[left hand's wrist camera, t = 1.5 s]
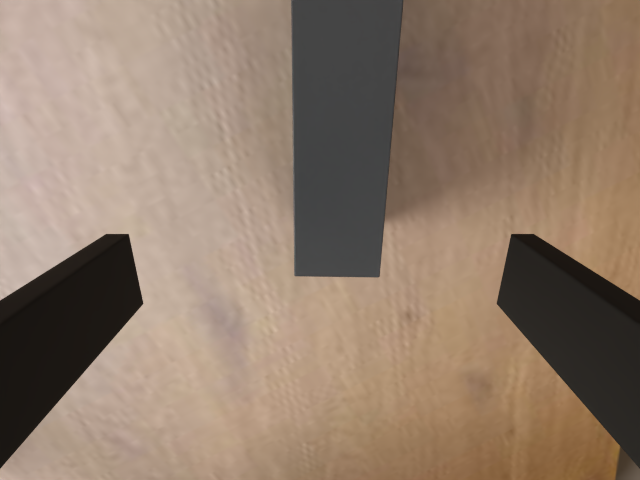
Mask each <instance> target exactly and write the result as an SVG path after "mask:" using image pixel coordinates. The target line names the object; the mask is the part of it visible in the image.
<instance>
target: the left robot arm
mask: <svg viewBox="0 0 640 480" xmlns="http://www.w3.org/2000/svg"><path fill="white" fill-rule="evenodd" d="M142 305H143V300H142V295H141V291H140V286H139V281H138V276H137V272H136V267H135V262H134V257H133V253H132V248H131V243H130V238H129V234H106V235H104V236H103V237H101V238H99V239H98V240H96V241H95V242H93V243H91V244H90V245H88V246H87V247H85V248H83V249H82V250H80V251H79V252H77V253H75V254H74V255H72V256H71V257H69V258H67V259H66V260H64V261H63V262H61V263H59V264H58V265H56V266H55V267H53V268H52V269H50V270H48V271H47V272H45V273H44V274H42V275H40V276H39V277H37V278H36V279H34V280H32V281H31V282H29V283H28V284H26V285H24V286H23V287H21V288H20V289H18V290H16V291H15V292H13V293H12V294H10V295H8V296H7V297H5V298H4V299H2V300H1V301H0V468H1V467H2V466H3V465H4V464H5V462H6V461H7V460H8V459H9V458H10V457H11V455H12V454H13V453H14V452H15V451H16V450H17V449H18V447H19V446H20V445H21V444H22V443H23V442H24V441H25V439H26V438H27V437H28V436H29V435H30V434H31V432H32V431H33V430H34V429H35V428H36V427H37V426H38V424H39V423H40V422H41V421H42V420H43V419H44V417H45V416H46V415H47V414H48V413H49V412H50V411H51V409H52V408H53V407H54V406H55V405H56V404H57V402H58V401H59V400H60V399H61V398H62V397H63V396H64V394H65V393H66V392H67V391H68V390H69V389H70V388H71V386H72V385H73V384H74V383H75V382H76V381H77V379H78V378H79V377H80V376H81V375H82V374H83V373H84V371H85V370H86V369H87V368H88V367H89V366H90V364H91V363H92V362H93V361H94V360H95V359H96V358H97V356H98V355H99V354H100V353H101V352H102V351H103V349H104V348H105V347H106V346H107V345H108V344H109V343H110V341H111V340H112V339H113V338H114V337H115V336H116V335H117V333H118V332H119V331H120V330H121V329H122V328H123V326H124V325H125V324H126V323H127V322H128V321H129V320H130V318H131V317H132V316H133V315H134V314H135V313H136V311H137V310H138V309H139V308H140V307H141V306H142ZM497 305H498V306H499V307H500V308H501V309H502V310H503V311H504V313H505V314H506V315H507V316H508V317H509V318H510V320H511V321H512V322H513V323H514V324H515V325H516V326H517V328H518V329H519V330H520V331H521V332H522V333H523V335H524V336H525V337H526V338H527V339H528V340H529V341H530V343H531V344H532V345H533V346H534V347H535V348H536V349H537V351H538V352H539V353H540V354H541V355H542V356H543V358H544V359H545V360H546V361H547V362H548V363H549V364H550V366H551V367H552V368H553V369H554V370H555V371H556V373H557V374H558V375H559V376H560V377H561V378H562V379H563V381H564V382H565V383H566V384H567V385H568V386H569V388H570V389H571V390H572V391H573V392H574V393H575V394H576V396H577V397H578V398H579V399H580V400H581V401H582V402H583V404H584V405H585V406H586V407H587V408H588V409H589V411H590V412H591V413H592V414H593V415H594V416H595V417H596V419H597V420H598V421H599V422H600V423H601V424H602V426H603V427H604V428H605V429H606V430H607V431H608V432H609V434H610V435H611V436H612V437H613V438H614V439H615V441H616V442H617V443H618V444H619V445H620V446H621V447H622V449H623V450H624V451H625V452H626V453H627V454H628V455H629V457H630V458H631V459H632V460H633V461H634V462H635V464H636V465H637V466H638V467H639V468H640V301H639V300H638V299H636V298H635V297H633V296H632V295H630V294H628V293H627V292H625V291H624V290H622V289H620V288H619V287H617V286H616V285H614V284H612V283H611V282H609V281H608V280H606V279H604V278H603V277H601V276H600V275H598V274H596V273H595V272H593V271H592V270H590V269H588V268H587V267H585V266H584V265H582V264H581V263H579V262H577V261H576V260H574V259H573V258H571V257H569V256H568V255H566V254H565V253H563V252H561V251H560V250H558V249H557V248H555V247H553V246H552V245H550V244H549V243H547V242H545V241H544V240H542V239H541V238H539V237H537V236H536V235H534V234H511V238H510V243H509V248H508V253H507V257H506V262H505V267H504V272H503V276H502V281H501V286H500V291H499V295H498V300H497Z"/></svg>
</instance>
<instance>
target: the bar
mask: <svg viewBox="0 0 640 480" xmlns="http://www.w3.org/2000/svg"><path fill="white" fill-rule="evenodd" d="M291 9H292V101H293V192H294V275H295V276H320V277H379V276H380V265H381V254H382V242H383V230H384V219H385V207H386V196H387V184H388V172H389V161H390V149H391V138H392V126H393V114H394V103H395V91H396V80H397V68H398V56H399V45H400V33H401V22H402V10H403V0H291Z"/></svg>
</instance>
